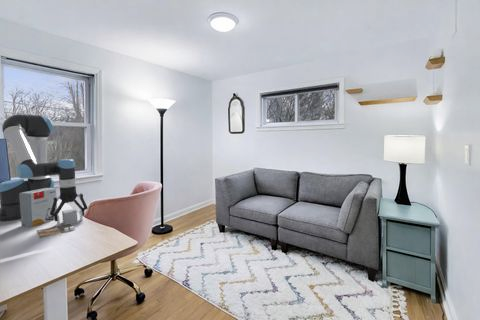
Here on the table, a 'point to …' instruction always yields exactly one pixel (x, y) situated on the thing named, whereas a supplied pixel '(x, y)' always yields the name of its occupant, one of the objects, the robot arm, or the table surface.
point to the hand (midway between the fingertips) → (70, 223)
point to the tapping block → (69, 216)
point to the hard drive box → (37, 206)
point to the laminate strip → (61, 228)
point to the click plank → (48, 232)
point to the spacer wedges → (68, 229)
